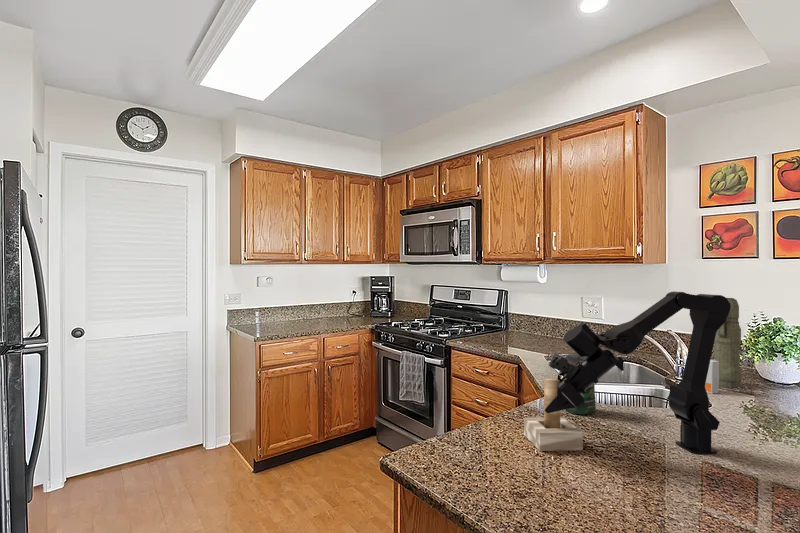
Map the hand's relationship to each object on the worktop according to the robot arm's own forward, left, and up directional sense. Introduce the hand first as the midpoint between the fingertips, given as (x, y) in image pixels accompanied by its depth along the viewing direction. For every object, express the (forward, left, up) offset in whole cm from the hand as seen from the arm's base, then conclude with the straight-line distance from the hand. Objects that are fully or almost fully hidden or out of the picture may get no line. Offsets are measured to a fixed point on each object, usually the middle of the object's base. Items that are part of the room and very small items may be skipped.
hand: (546, 406), depth 112 cm
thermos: (+51, -96, -9) cm, 109 cm away
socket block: (-1, -1, -9) cm, 9 cm away
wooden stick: (-1, -1, -9) cm, 9 cm away
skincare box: (+43, -81, -9) cm, 93 cm away
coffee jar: (+23, -21, -9) cm, 33 cm away
